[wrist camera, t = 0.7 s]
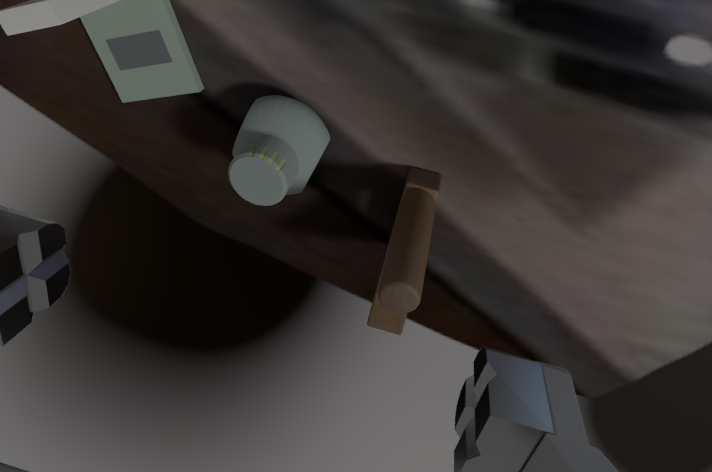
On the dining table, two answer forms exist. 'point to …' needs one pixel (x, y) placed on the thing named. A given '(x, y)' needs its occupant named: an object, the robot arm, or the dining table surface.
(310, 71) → the dining table surface
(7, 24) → the domino
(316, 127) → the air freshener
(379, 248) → the dining table surface
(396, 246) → the wooden block
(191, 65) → the domino board
